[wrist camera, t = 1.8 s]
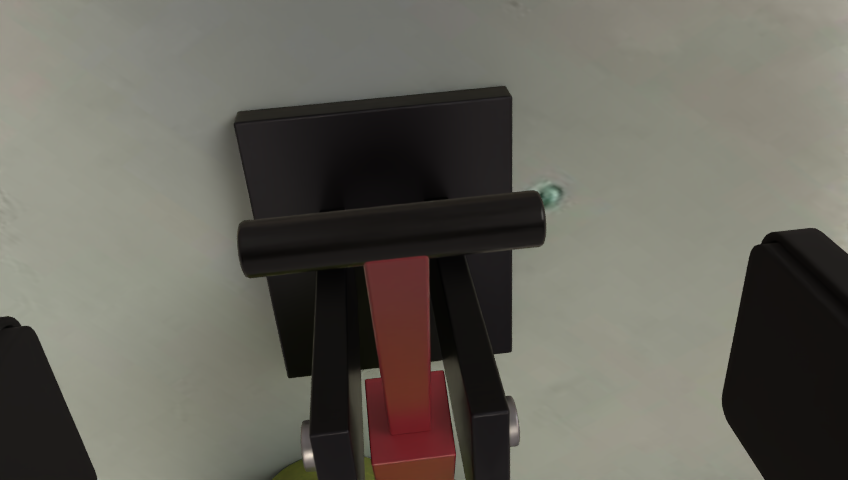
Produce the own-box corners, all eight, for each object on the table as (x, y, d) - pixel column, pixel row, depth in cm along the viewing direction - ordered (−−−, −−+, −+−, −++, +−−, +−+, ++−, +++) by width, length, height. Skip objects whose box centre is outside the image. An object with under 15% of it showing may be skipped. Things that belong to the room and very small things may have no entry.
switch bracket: (237, 111, 26) (165, 324, 15) (505, 85, 27) (621, 272, 16) (289, 361, 33) (264, 640, 22) (506, 336, 33) (590, 595, 22)
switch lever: (237, 175, 12) (233, 298, 11) (529, 146, 12) (560, 262, 11) (326, 420, 22) (330, 500, 21) (487, 400, 22) (501, 478, 21)
